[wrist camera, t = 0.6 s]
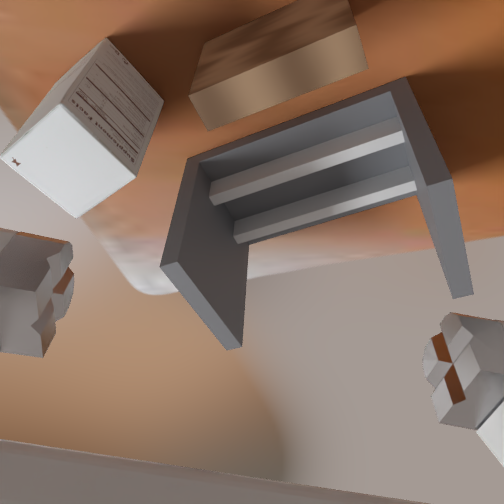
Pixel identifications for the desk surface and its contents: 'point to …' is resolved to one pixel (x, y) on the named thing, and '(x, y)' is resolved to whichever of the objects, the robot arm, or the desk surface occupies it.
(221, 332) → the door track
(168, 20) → the desk surface
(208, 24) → the desk surface
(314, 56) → the door panel
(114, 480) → the robot arm
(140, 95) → the supplement box
